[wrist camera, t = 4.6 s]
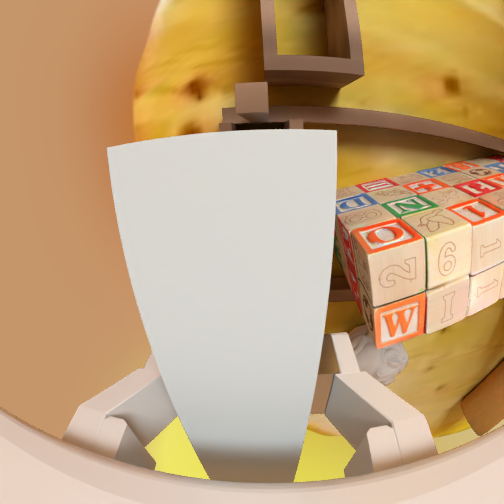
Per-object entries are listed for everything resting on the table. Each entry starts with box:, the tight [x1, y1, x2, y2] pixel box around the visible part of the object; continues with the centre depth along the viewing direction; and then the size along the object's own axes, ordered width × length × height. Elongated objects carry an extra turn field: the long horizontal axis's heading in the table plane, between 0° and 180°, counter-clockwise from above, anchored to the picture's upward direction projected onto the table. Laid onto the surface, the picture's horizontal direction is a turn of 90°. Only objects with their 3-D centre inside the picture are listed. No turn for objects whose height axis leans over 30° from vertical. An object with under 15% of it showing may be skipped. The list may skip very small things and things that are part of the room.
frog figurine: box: [348, 324, 408, 386], centre depth 25 cm, size 6×7×7 cm
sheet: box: [107, 129, 337, 483], centre depth 14 cm, size 12×2×20 cm, turn 2°
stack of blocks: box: [334, 155, 504, 349], centre depth 16 cm, size 21×6×12 cm, turn 108°
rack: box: [219, 82, 504, 302], centre depth 17 cm, size 16×30×12 cm, turn 92°
